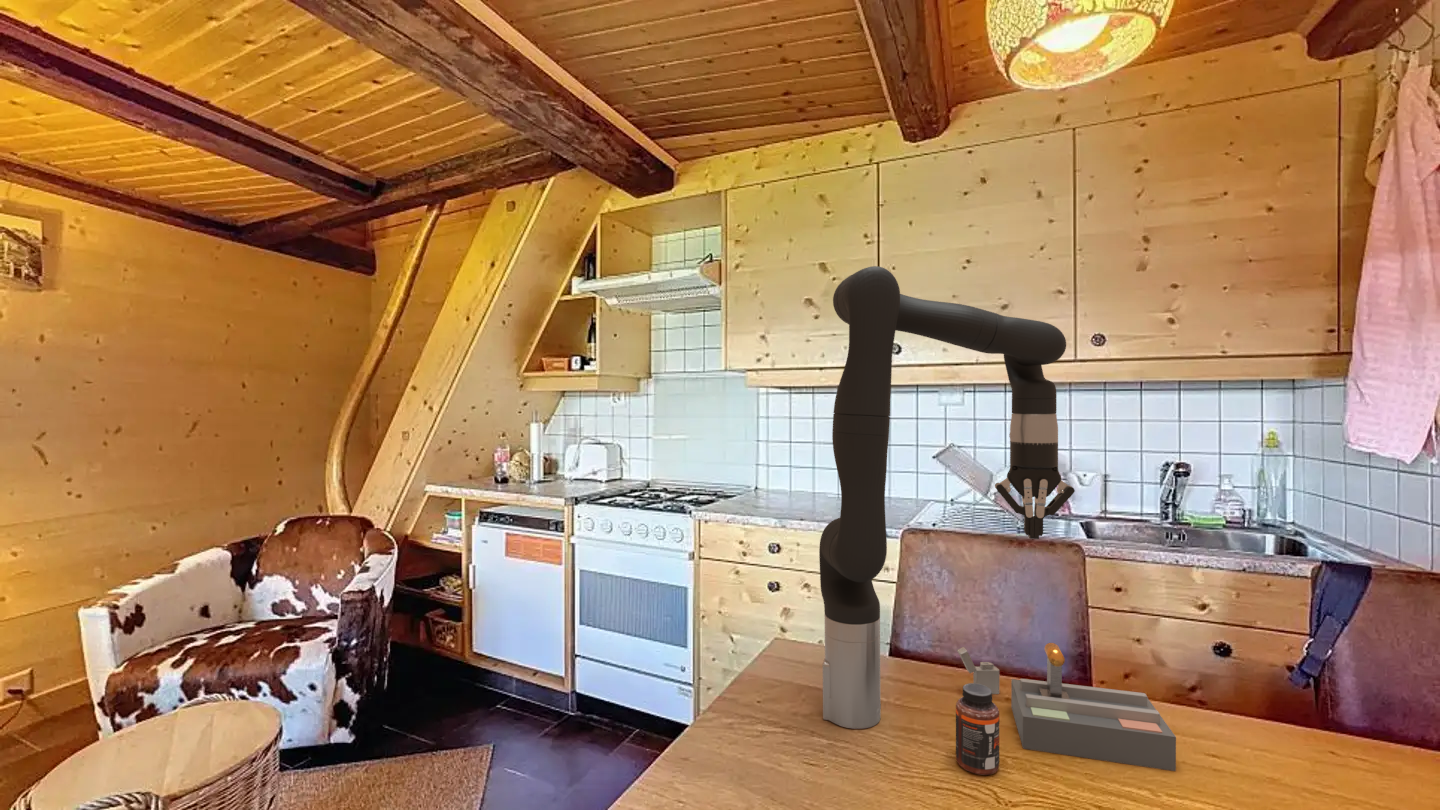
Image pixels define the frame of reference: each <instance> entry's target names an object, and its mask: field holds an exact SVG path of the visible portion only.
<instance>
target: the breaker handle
mask: <svg viewBox="0 0 1440 810" xmlns="http://www.w3.org/2000/svg"><path fill="white" fill-rule="evenodd" d="M1044 652H1045V654H1046V657H1047V658H1046V659H1047V660H1046V662H1047V663H1046V665H1047V666H1046V669H1047V670H1046V671H1047V672H1046V682H1047V688H1042V687H1039V696H1046V697H1054V698H1062V699H1070V698H1069V696H1068V694H1067V692H1066V690H1062V683H1063V682H1062V681H1063V680H1062V679H1063V678H1062V677H1063V665H1064V664H1065V662H1066V661H1065V660H1066V659H1065V656H1064V654H1063V653H1062V651H1061V649H1060V647H1059V645H1057V644H1056V643H1054V642H1049V643H1046V644H1045V646H1044Z"/></svg>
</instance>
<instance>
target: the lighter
mask: <svg viewBox="0 0 1440 810" xmlns="http://www.w3.org/2000/svg"><path fill="white" fill-rule="evenodd" d="M956 651H957V653H958V655H959V656H960V660H961V661H962V662H963V665H964V667H965V670H967V672H968V673H969V674H971V673H973V674H972V675H973V676H972V677H973V678H972V679H973V682H972V683H976V684H981V685H984V686H987V687H988V688H990V689H991V691H992V695H999V694H1000V669H999V668H998V667H997V666H995V665H994V663H993V662H992V663H991V661H990V662H989V661H981V662H979V666H975V664H974V662H973V660H972V657H971V656H970V654H969V651H968V650H967V649H966V648H965V647H964V646H963V647H961V648H959V649H957V650H956Z"/></svg>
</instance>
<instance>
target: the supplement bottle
mask: <svg viewBox="0 0 1440 810" xmlns="http://www.w3.org/2000/svg"><path fill="white" fill-rule="evenodd" d="M961 694H962V695H961V697H960V698H959V699H958V700H957V701H956V703H955V759H956V762H957V763H958V765H959V766H960V767H961V768H962V769H964V770H965V771H967V772H969V773H972V774H975V775H983V776H989V775H994V774H995V773H996V772H997V771H998V770H999V768H1000V710H999V707H998V706H997V705H996V704H995V702H993V694H992V691H991V689H990V688H988V687H987V686H984V685H981V684H976V683H973V682H971V683H966V684H964V685H963V686H962V693H961Z"/></svg>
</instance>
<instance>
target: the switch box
mask: <svg viewBox="0 0 1440 810" xmlns="http://www.w3.org/2000/svg"><path fill="white" fill-rule="evenodd" d="M1010 681H1011V683H1010V684H1011V693H1010V694H1011V697H1010V698H1011V700H1010V701H1011V706H1010V707H1011V711H1012V714H1013V717H1014V722H1015V725H1016V728H1017V733H1018V735H1019V739H1020V743H1021V746H1022V749H1023V750H1031V751H1038V752H1043V753H1050V754H1056V755H1057V754H1058V755H1063V756H1071V757H1075V758H1076V757H1077V758H1085V759H1091V760H1097V761H1098V760H1099V761H1105V762H1110V763H1118V764H1122V765H1123V764H1125V765H1130V766H1137V767H1138V766H1139V767H1145V768H1151V769H1156V770H1157V769H1159V770H1165V771H1172V772H1176V771H1177V736H1176V734H1175V733H1173V731H1172V729H1171V728H1170V726H1169V725H1168V724H1167V722H1166V721H1165V720H1164V718H1163V717H1162V716H1161V714H1160V712H1159V711H1158V710H1157V709H1156V707H1155V706H1154V705H1153V703H1152V702H1151V700H1150V699H1149V697H1148V696H1147V694H1146V693H1144V692H1137V691H1129V690H1122V689H1121V690H1120V689H1113V688H1112V689H1111V688H1103V687H1096V686H1095V687H1094V686H1087V685H1080V684H1079V685H1078V684H1069V683H1063V682H1062V690H1066V692H1067V694H1068V696H1069V698H1070V699H1062V698H1054V697H1046V696H1039V687H1042V688H1047V680H1045V681H1044V680H1036V679H1028V678H1020V679H1017V678H1016V679H1014V678H1011V680H1010Z"/></svg>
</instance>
